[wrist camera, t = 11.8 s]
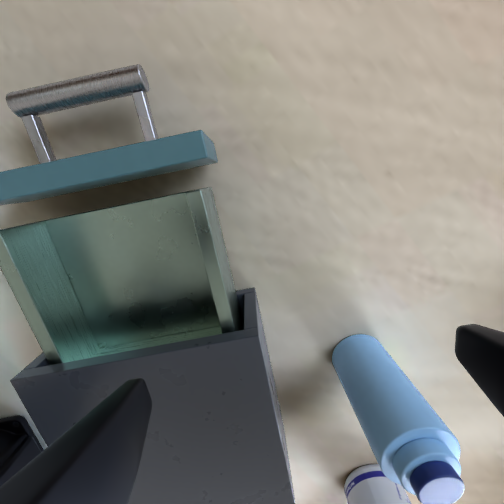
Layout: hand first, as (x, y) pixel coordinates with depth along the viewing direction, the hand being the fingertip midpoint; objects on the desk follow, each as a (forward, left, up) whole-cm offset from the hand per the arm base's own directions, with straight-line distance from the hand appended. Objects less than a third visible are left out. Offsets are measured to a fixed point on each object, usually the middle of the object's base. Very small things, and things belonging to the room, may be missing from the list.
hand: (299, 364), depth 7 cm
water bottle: (+6, -10, -12) cm, 16 cm away
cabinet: (-8, -9, -12) cm, 17 cm away
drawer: (-8, +4, -11) cm, 14 cm away
